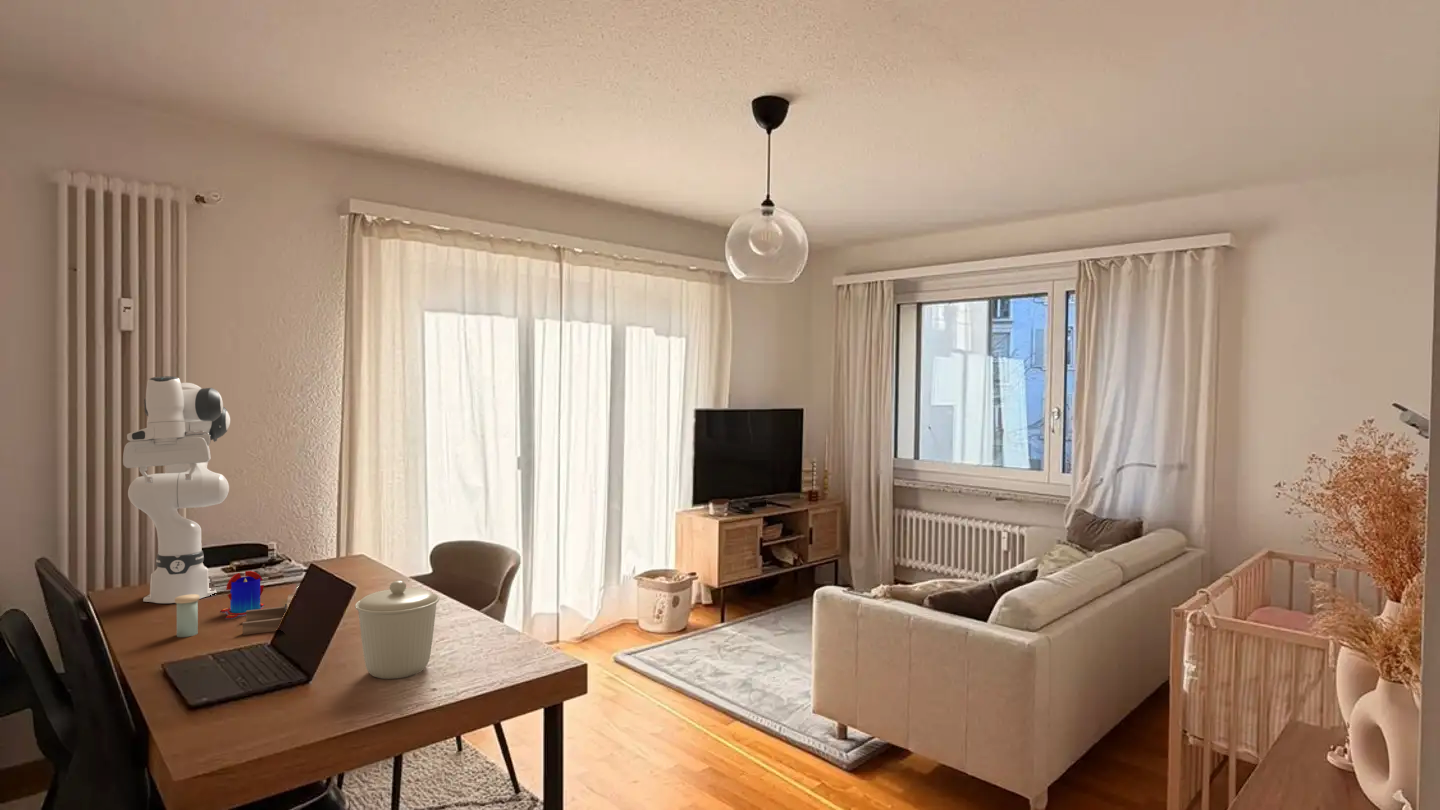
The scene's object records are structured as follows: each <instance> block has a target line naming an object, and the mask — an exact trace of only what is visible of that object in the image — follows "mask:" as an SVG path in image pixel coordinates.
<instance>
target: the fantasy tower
mask: <svg viewBox="0 0 1440 810" xmlns="http://www.w3.org/2000/svg"><path fill="white" fill-rule="evenodd" d="M244 572H245V573H244V575H245V576H243V577H242V575H241V573H240V572H238V573H236V574H234V575H233V576H232V577H230V579H229V580H228V582H227V584H226V587H225V588H226V591H229V590H230V593H229V594H227V598H229V600H230V601H229V602H230V605H229V606H230V607H226V608H223V609H221V610H220V611H219V613H221V612H222V613H223V614H226V616H225V618H224V619H225V620H233V619H236V618H240V617H246V611H247V610H256V609H264V607H265V604H264V603H261V595H262V594H263V592H264V586H265V584H261V581H263V580H264V579H263V578H262V576H261V575H260V574H259V573H258V572H255V571H252V570H245V571H244Z"/></svg>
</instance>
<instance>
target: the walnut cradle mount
mask: <svg viewBox="0 0 1440 810" xmlns="http://www.w3.org/2000/svg"><path fill="white" fill-rule="evenodd" d="M293 596H294V593H293V594H292V593H291V594H288V595H287V599H286V600H287V602H286V604H284V606H276V607H266V608H263V609H256V610H247V611H246V616H245V621H243V622H242V636H244V635H252V634H253V635H254V634H260V633H269V632H277V631H276V629H277V628H278V626H279V624H280V622H281V620H282V619H283V618H282V617H283V615H284V613H285V612H286V610H287V609H288V607H289V604H290V602H291V600H292V598H293Z"/></svg>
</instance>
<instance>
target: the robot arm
mask: <svg viewBox="0 0 1440 810" xmlns="http://www.w3.org/2000/svg"><path fill="white" fill-rule="evenodd" d="M143 404H144V414H145V415H146V416H147V421H146V427H145V428H142V429H138V430H135V431H131V432H129V433H127V434H126V439H127V441H128V442H127V443H126V444H124V448H123V453H122V455H123V456H122V465H123V466H124V467H125V468H126V469H135V468H139V472H140V474H141V475H142V476H137V477H136V478H134V479H133V480H132V481H131V483H130V484H129V486H128V490H127V497H128V500H129V502H130V503H131V504H132V505H133V506H134V507H135V508H136V509H139V511H140V510H141V512H143V513H145V514H146V515H147V516H148V518H149V519H150V520H151V521H152V524H154V526H155V529H156V535H157V546H158V547H157V549H158V553H157V554H156V561H155V562H156V569H155V570H154V571H153V572H151V574H150V585H149V594H148V595H146V596H144V597H143V600H142V601H143V602H146V603H147V602H149V603H154V604H176V603H175V598H176V597H178V596H182V595H190V594H197V595H199V600H200V599H203V598H205V597H210V595H211V596H213V595H212V594H214V593H217V590H216V589H215V590H214V591H210V590H211V588H209V583H211V579H210V578H209V568H208V567H207V566H205V564H204V563H203V562H204V560H205V557H204V550H202V547H203V545H202V541H203V540H202V528H201V526H200V525H199V523H198V522H196V521H194V520H192V519H191V518H190V519H189V518H186V517H184V516H182V515H181V514H180V513H179V511H178V510H179V509H193V508H206V507H211V506H215V505H219V504H222V503H223V502H224V501H225V500H226V499H227V497H228V495H229V492H230V484H229V482H228V481H229V480H227V478H226V476H224V474H221V473H218V472H214V471H212V470H210V469H209V468H208V464H209V462H210V461H211V459H212V457H211V449H210V444H211V441H213V442H214V443H216V442H217V441H218V439H220V438H221V437H223V436H224V435H225V434H226V433H227V432H228V430H229V427H230V425H231V416H230V413H229V412H228V409H227V408H226V407H224V402H223V398H222V395H221V394H220V392H219V391H218V390H217V389H215V388H213V387H204V388H202V387H201V386H199V385H197V384H195V383H193V382H182V381H181V380H180V378H179V377H177V376H170V375H169V376H168V375H167V376H166V375H165V376H163V375H162V376H155V377H150V378H149V379H147V384H146V391H145V398H144V403H143ZM160 466H161V467H162V466H163V467H164V466H165V467H164V472H165V473H164V472H163V473H162V472H161V473H151V474H147V471H148V467H160Z"/></svg>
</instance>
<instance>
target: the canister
mask: <svg viewBox="0 0 1440 810" xmlns="http://www.w3.org/2000/svg"><path fill="white" fill-rule="evenodd" d="M439 601H440V596H439V595H438V594H436V593H434V592H432V591H431V590H429V589H425V588H420V587H419V588H418V587H407V583H406V582H405V581H404V580H394V581H392V582H391V583H390V585H389V589H384V590H379V591H375V592H372V593H369V594H368V595H366V596H364V597H362V599H360V600H358V601H356V602H355V604H354V608H355V610H356V611H358V620H359V629H360V639H361V645H362V652H363V659H364V665H365V668H366V670H367V672H368V673H369V674H370V676H372V677H375V678H378V679H386V680H388V679H389V680H390V679H391V680H392V679H393V680H394V679H403V678H407V677H411V676H414V675H417V674H418V673H420V672H423V670H424V669H426V667H427V666H428V664H429V662H430V657H431V653H432V645H433V637H434V631H435V630H434V629H435V620H436V610H437V604H438V603H439Z"/></svg>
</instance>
